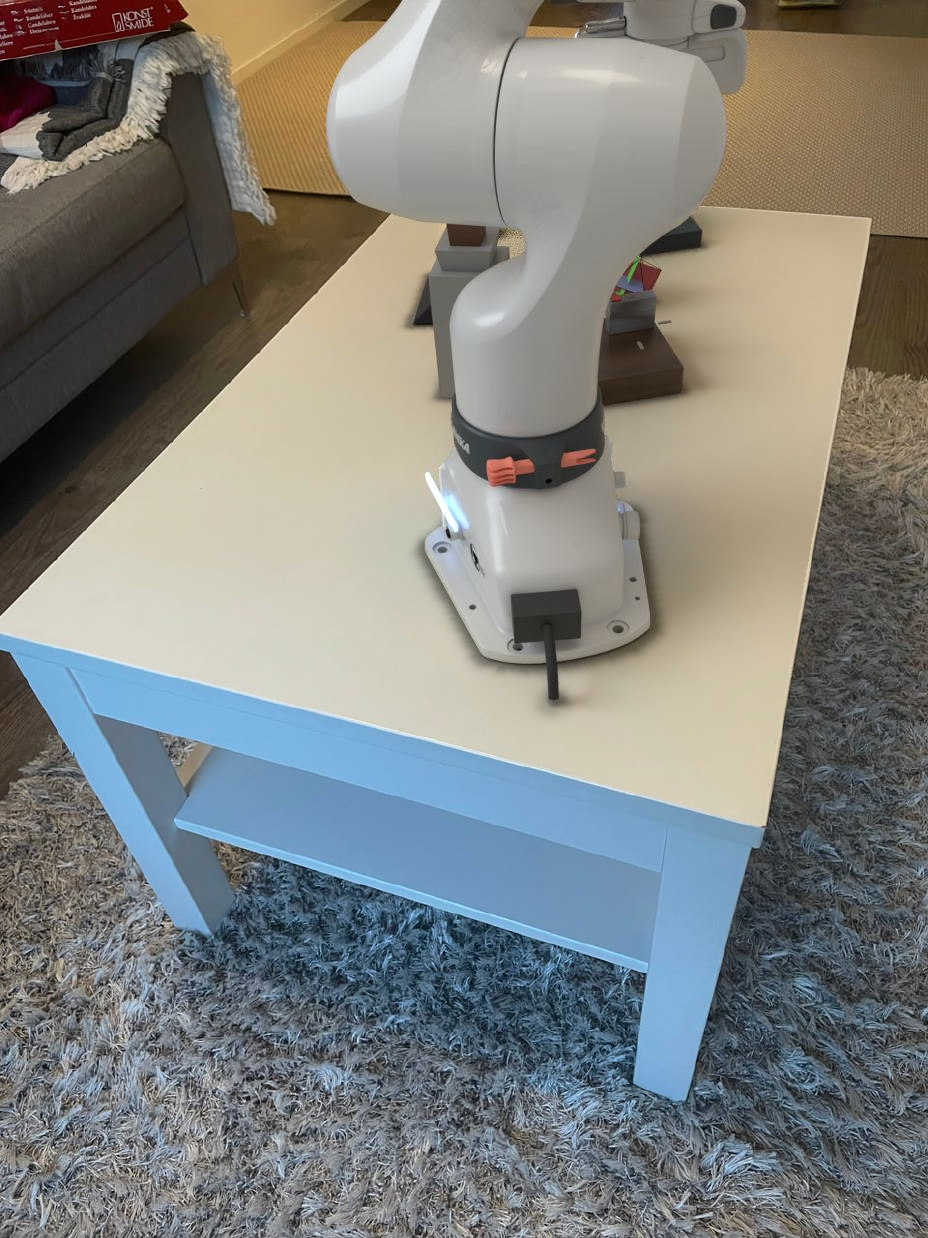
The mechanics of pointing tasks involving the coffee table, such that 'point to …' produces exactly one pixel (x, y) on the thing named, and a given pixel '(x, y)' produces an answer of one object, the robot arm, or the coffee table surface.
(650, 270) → the geometric puzzle
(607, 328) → the grey block
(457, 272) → the perfume bottle
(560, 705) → the coffee table surface
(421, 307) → the black triangular piece
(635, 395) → the dark brown block
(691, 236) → the block
